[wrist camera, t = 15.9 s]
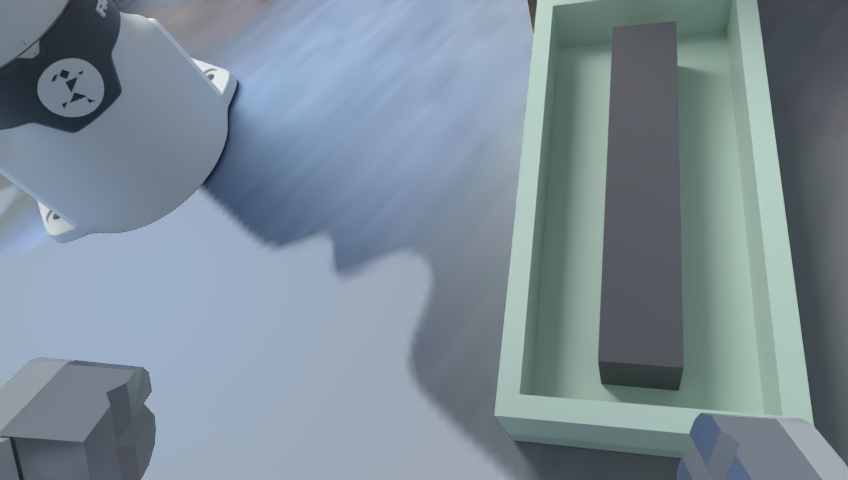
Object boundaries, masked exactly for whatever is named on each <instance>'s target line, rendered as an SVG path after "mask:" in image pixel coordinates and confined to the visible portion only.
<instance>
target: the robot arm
mask: <svg viewBox="0 0 848 480" xmlns="http://www.w3.org/2000/svg"><path fill="white" fill-rule="evenodd" d="M236 86H237V80H236V78H235V77H234V76H233V75H232V74H231V73H230V72H229V71H227V70H225V69H223V68H220V67H217V66H214V65H211V64H208V63H205V62H202V61H199V60H196V59H193V58H190V57H189V55H188V54H187V53H186V52H185V51H184V50H183V49H182V48H181V46H180V45H179V44H178V43H177V42H176V41H175V40H174V39H173V37H172V36H171V35H170V34H169V33H168V32H167V31H166V30H165V29H164V27H163V26H162V25H161V24H160V23H159V22H158V21H156V20H155V19H154V18H150V19H147V18H145V17H143V16H141V15H137V14H125V13H122V12H120V11H119V9H118V7H117V5H116V4H115V3H114V2H113V1H112V0H0V173H1V174H2V175H4V176H5V177H6V178H8V179H9V180H10V181H12V182H13V183H14V184H16V185H17V186H19V187H20V188H21V189H23V190H24V191H25V192H27V193H28V194H29V195H31V196H32V197H34V198H35V199H36V200H37V203H38V206H39V209H40V213H41V216H42V219H43V222H44V225H45V228H46V231H47V233H48V235H49V236H51V237H52V238H53V239H54V240H56V241H57V242H59V243H65V242H69V241H72V240H75V239H78V238H81V237H83V236H86V235H88V234H92V233H120V232H126V231H131V230H134V229H137V228H140V227H143V226H146V225H148V224H150V223H152V222H154V221H156V220H158V219H160V218H162V217H164V216H165V215H167V214H168V213H170V212H171V211H173V210H174V209H176V208H177V207H178V206H180V205H181V204H182V203H183V202H184V201H186V200H187V199H188V198H189V197H190V196H191V195H192V194H193V193H194V192H195V191H196V190H197V189H198V188H199V187H200V186H201V184H202V183H203V182H204V181H205V180H206V178H207V177H208V176H209V174H210V173H211V171H212V170H213V168H214V166H215V165H216V163H217V161H218V159H219V157H220V155H221V153H222V150H223V148H224V145H225V141H226V137H227V131H228V115H227V114H228V106H229V104H230V101H231V99H232V97H233V95H234V92H235V89H236ZM151 391H152V390H151V384H150V378H149V372H147V371H146V370H145V369H144V368H143V367H134V366H124V365H115V364H105V363H96V362H86V361H76V360H75V361H70V360H63V359H51V358H37V359H34V360H31V361H29V362H28V363H27V364H26V365H25V366H24V367H23V368H22V369H21V370H20V371H19V372H18V373H17V374H16V375H15V376H14V377H13V378H12V379H11V380H10V381H8V383H7V384H6V385H4V386H3V387H2V388H1V389H0V480H141V478H142V476H143V475H144V473H145V471H146V469H147V467H148V465H149V462H150V458H151V455H152V451H153V448H154V445H155V431H156V427H155V417H154V414H153V413H152V412H151V411H150V410H149V409H148V408H147V407H146V406H145V405H144V402H145V401H146V399H147V397H148V396H149V394H150V393H151ZM689 434H690V436H691V438H692V440H693V442H694V444H695V446H694V447H693V448H692V449H690V450H689V451H688V452H687V453H685V454H684V455H683V456H681V459H680V462H679V466H678V469H677V472H676V480H848V466H847V465H846V464H845V463H844V462H843V460H842V459H841V458H840V457H839V456H838V454H837V453H836V452H835V451H834V450H833V448H832V447H831V446H830V445H829V444H828V442H827V441H826V440H825V439H824V438H823V436H822V435H821V434H820V433H819V432H818V430H817V429H816V428H815V427H814V426H813V425H812V424H811V423H809V422H807V421H806V420H804V419H802V418H784V417H767V418H765V417H752V416H739V415H726V414H712V413H700V414H699V415H698V416H697V418H696V419H695V420H694V422H693V425H692V427H691V430H690V433H689Z"/></svg>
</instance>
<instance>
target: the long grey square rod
mask: <svg viewBox="0 0 848 480" xmlns="http://www.w3.org/2000/svg"><path fill="white" fill-rule="evenodd" d="M598 365H599V372H600V379H601V384H607V385H618V386H630V387H641V388H652V389H663V390H675V391H679V387H680V382H681V378H682V373H683V369H684V355H683V308H682V261H681V213H680V166H679V119H678V71H677V24H676V21H671V22H661V23H651V24H640V25H630V26H620V27H613V35H612V57H611V80H610V102H609V124H608V146H607V169H606V191H605V213H604V236H603V258H602V280H601V303H600V325H599V347H598Z"/></svg>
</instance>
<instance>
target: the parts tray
mask: <svg viewBox="0 0 848 480" xmlns="http://www.w3.org/2000/svg"><path fill="white" fill-rule="evenodd" d="M671 21H676V24H677V71H678V119H679V166H680V213H681V261H682V308H683V355H684V369H683V373H682V378H681V382H680V387H679V391H675V390H663V389H652V388H641V387H630V386H618V385H607V384H601V379H600V372H599V365H598V347H599V325H600V303H601V280H602V258H603V236H604V213H605V191H606V169H607V146H608V124H609V102H610V80H611V57H612V35H613V27H620V26H630V25H640V24H651V23H661V22H671ZM700 413H712V414H726V415H739V416H752V417H765V418H767V417H784V418H802V419H804V420H806V421H807V422H809V423H811V424H812V425H813V426H814V423H813V415H812V408H811V400H810V393H809V385H808V378H807V371H806V363H805V356H804V348H803V341H802V333H801V326H800V318H799V311H798V303H797V296H796V288H795V281H794V273H793V266H792V258H791V251H790V243H789V236H788V229H787V221H786V214H785V206H784V199H783V191H782V184H781V176H780V169H779V161H778V154H777V146H776V139H775V131H774V124H773V116H772V109H771V101H770V94H769V87H768V79H767V72H766V64H765V57H764V49H763V42H762V34H761V27H760V19H759V12H758V4H757V0H537V8H536V17H535V27H534V37H533V46H532V56H531V66H530V75H529V85H528V95H527V104H526V114H525V124H524V133H523V143H522V152H521V162H520V172H519V181H518V191H517V201H516V210H515V220H514V230H513V239H512V249H511V259H510V268H509V278H508V288H507V297H506V307H505V317H504V326H503V336H502V346H501V355H500V365H499V375H498V384H497V394H496V403H495V413H494V416H495V417H496V418H497V420H498V421H499V422H500V424H501V425H502V426H503V428H504V429H505V430H506V432H507V433H508V434H509V436H510V437H511V438H512V439H513V440H515V441H524V442H534V443H543V444H552V445H562V446H571V447H580V448H590V449H599V450H608V451H618V452H627V453H637V454H646V455H655V456H665V457H674V458H681V456H683V455H684V454H685V453H687V452H688V451H689V450H690V449H692V448H693V447H694V446H695V444H694V442H693V440H692V438H691V436H690V434H689V433H690V430H691V427H692V425H693V422H694V420H695V419H696V418H697V416H698V415H699V414H700Z"/></svg>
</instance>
